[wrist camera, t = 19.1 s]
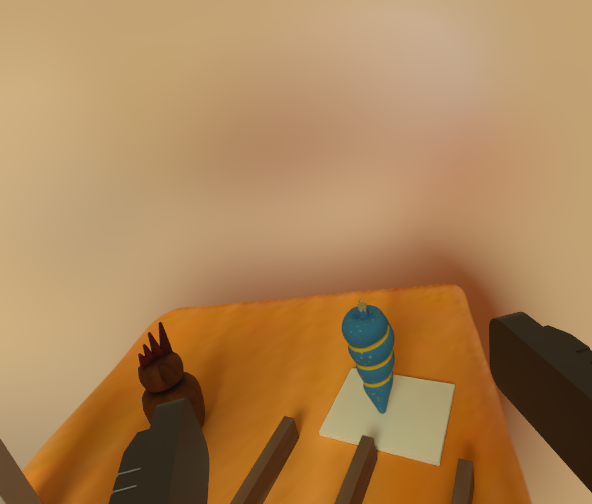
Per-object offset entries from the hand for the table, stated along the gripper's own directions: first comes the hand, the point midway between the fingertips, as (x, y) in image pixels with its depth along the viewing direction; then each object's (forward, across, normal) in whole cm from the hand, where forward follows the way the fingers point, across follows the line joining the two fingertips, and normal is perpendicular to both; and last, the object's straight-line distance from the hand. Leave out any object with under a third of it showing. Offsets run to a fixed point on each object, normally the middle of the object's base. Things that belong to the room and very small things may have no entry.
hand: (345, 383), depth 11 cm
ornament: (+27, -7, +29) cm, 40 cm away
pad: (+27, -8, +30) cm, 41 cm away
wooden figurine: (+33, +17, +30) cm, 48 cm away
